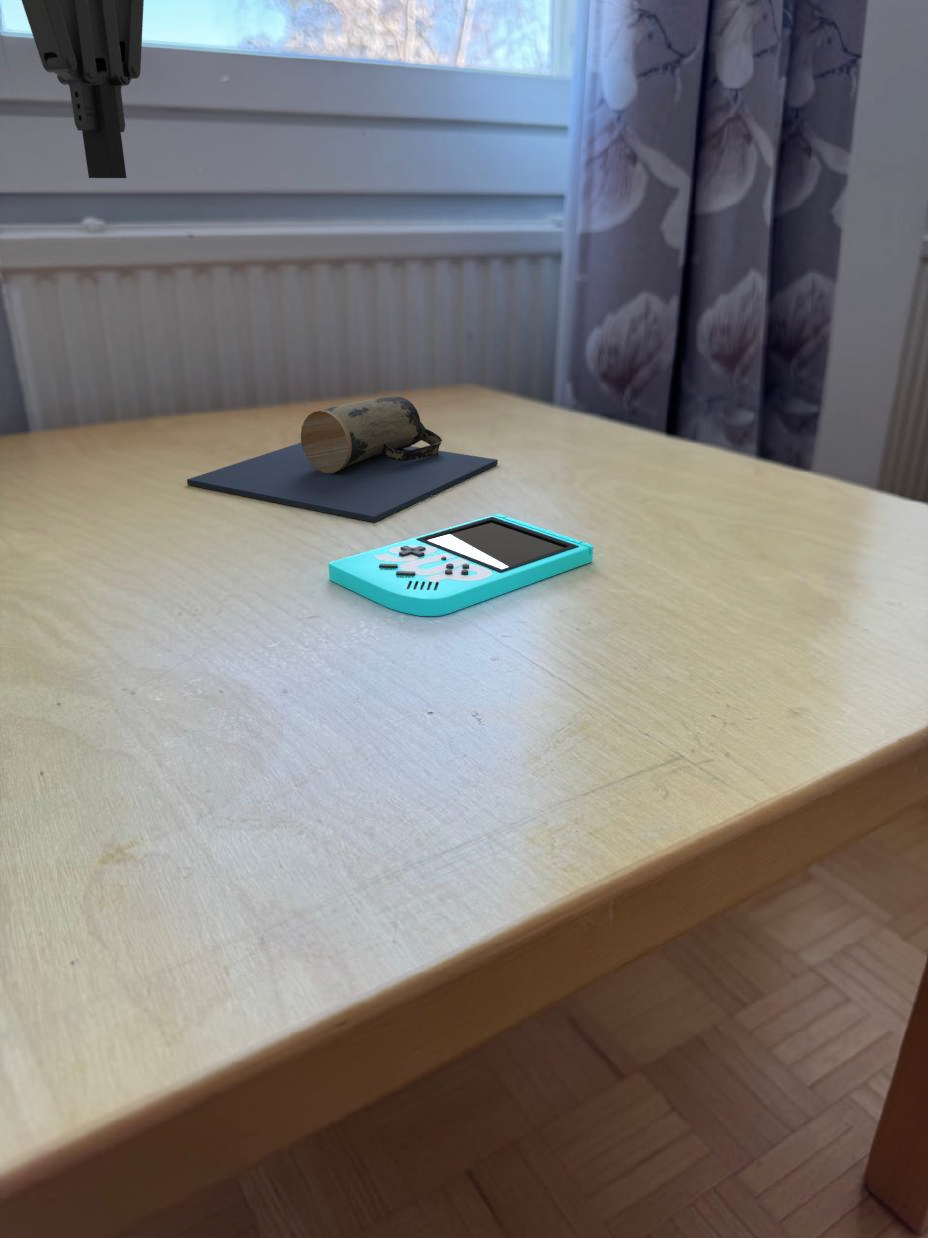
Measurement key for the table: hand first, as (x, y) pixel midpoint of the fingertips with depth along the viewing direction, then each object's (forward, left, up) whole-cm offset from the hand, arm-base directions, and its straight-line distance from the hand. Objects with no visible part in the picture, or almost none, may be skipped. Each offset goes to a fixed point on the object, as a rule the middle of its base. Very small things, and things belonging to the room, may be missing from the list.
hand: (107, 177), depth 78 cm
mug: (+16, +7, -22) cm, 28 cm away
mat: (+16, +9, -24) cm, 31 cm away
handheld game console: (+37, -6, -25) cm, 45 cm away
